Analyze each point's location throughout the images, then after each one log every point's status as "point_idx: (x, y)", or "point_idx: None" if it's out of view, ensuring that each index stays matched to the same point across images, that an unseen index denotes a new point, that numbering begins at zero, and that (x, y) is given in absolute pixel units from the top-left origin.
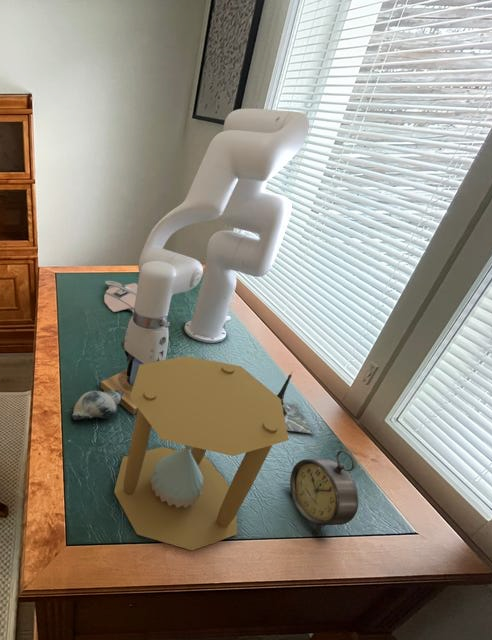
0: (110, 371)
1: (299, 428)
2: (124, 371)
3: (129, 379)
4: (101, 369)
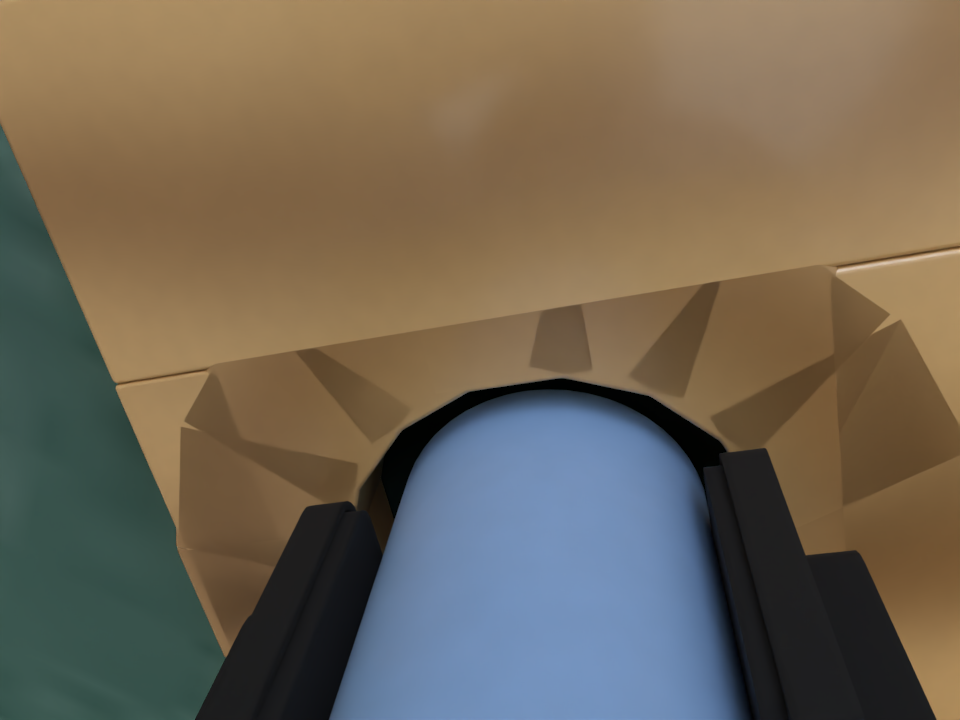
0: (94, 605)
1: None
2: (233, 616)
3: (382, 528)
4: (29, 675)
